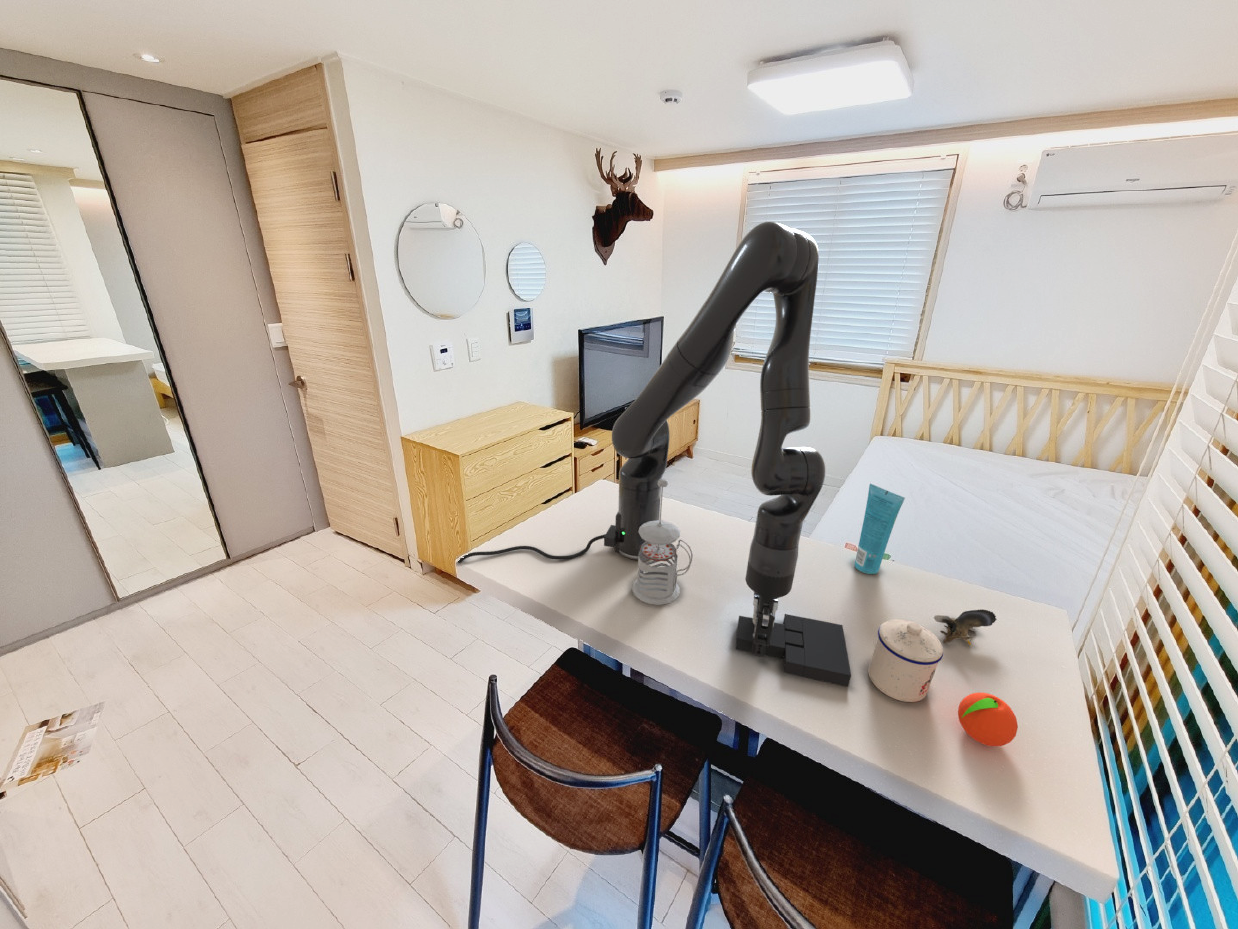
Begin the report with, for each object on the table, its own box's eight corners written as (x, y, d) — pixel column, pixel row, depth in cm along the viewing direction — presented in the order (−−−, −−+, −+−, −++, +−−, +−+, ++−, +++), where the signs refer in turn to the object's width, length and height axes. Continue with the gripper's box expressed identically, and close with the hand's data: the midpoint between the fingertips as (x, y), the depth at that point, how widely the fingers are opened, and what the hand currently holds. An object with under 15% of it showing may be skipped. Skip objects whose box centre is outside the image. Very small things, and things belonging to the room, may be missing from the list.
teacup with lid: (931, 713, 77) (953, 655, 72) (866, 692, 80) (883, 636, 75) (922, 658, 87) (942, 605, 82) (865, 642, 90) (880, 589, 85)
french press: (640, 570, 108) (645, 464, 98) (693, 582, 105) (704, 474, 94) (625, 598, 100) (629, 485, 89) (682, 612, 96) (693, 497, 86)
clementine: (971, 762, 70) (987, 727, 67) (934, 719, 76) (948, 684, 73) (1020, 754, 71) (1039, 719, 68) (980, 712, 77) (996, 678, 74)
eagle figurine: (980, 659, 85) (1005, 631, 89) (962, 621, 85) (989, 595, 89) (936, 652, 92) (962, 626, 96) (920, 617, 92) (946, 592, 96)
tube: (887, 572, 109) (910, 493, 101) (877, 580, 107) (899, 500, 99) (855, 556, 115) (874, 480, 107) (844, 564, 112) (863, 487, 104)
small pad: (735, 649, 88) (737, 638, 87) (737, 626, 93) (739, 615, 92) (801, 663, 85) (803, 652, 84) (799, 638, 91) (801, 627, 90)
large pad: (783, 672, 83) (785, 661, 82) (782, 624, 94) (784, 613, 93) (848, 687, 81) (851, 675, 80) (839, 635, 91) (842, 624, 90)
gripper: (797, 592, 75) (780, 672, 82) (794, 542, 88) (780, 615, 95) (746, 583, 77) (734, 662, 84) (750, 535, 90) (739, 607, 96)
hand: (758, 637), depth 89 cm, fingers open, 8 cm apart
